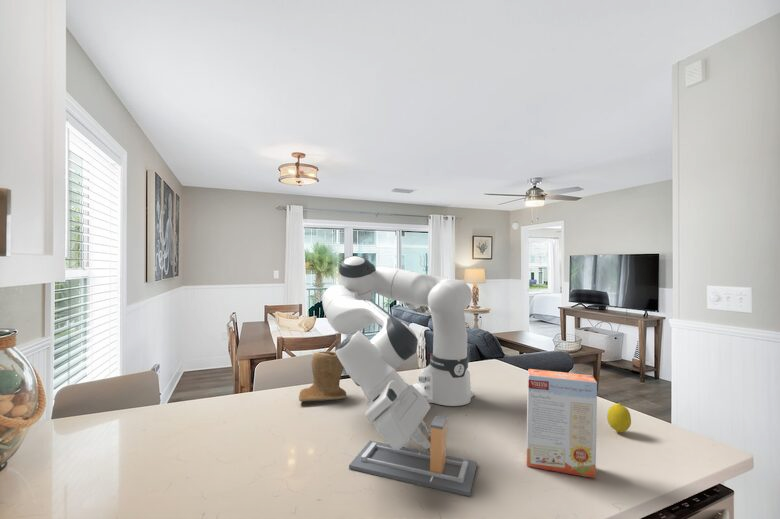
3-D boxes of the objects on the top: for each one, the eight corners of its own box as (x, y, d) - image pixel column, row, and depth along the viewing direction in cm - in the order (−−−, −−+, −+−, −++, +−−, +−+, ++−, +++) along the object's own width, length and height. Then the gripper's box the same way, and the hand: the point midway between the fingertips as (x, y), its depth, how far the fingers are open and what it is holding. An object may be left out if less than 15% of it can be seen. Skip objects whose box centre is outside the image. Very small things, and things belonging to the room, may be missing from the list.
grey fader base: (349, 468, 83) (349, 460, 83) (370, 443, 94) (370, 436, 94) (469, 496, 75) (469, 487, 75) (476, 465, 86) (477, 457, 86)
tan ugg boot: (343, 390, 132) (344, 346, 132) (348, 403, 120) (349, 355, 120) (298, 392, 128) (299, 348, 128) (298, 406, 116) (299, 357, 116)
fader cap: (429, 473, 81) (430, 424, 81) (434, 461, 86) (435, 415, 86) (441, 475, 80) (442, 426, 80) (446, 463, 85) (447, 416, 85)
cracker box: (591, 465, 87) (593, 374, 87) (595, 480, 81) (598, 382, 81) (525, 453, 91) (528, 366, 91) (525, 466, 86) (528, 374, 86)
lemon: (634, 438, 101) (635, 408, 101) (611, 436, 102) (612, 406, 102) (625, 429, 106) (626, 400, 106) (603, 427, 107) (604, 398, 107)
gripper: (394, 387, 97) (430, 432, 94) (361, 419, 78) (406, 477, 75) (411, 372, 95) (449, 417, 92) (382, 400, 76) (429, 459, 73)
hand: (430, 444), depth 83 cm, fingers closed, pressing on fader cap
